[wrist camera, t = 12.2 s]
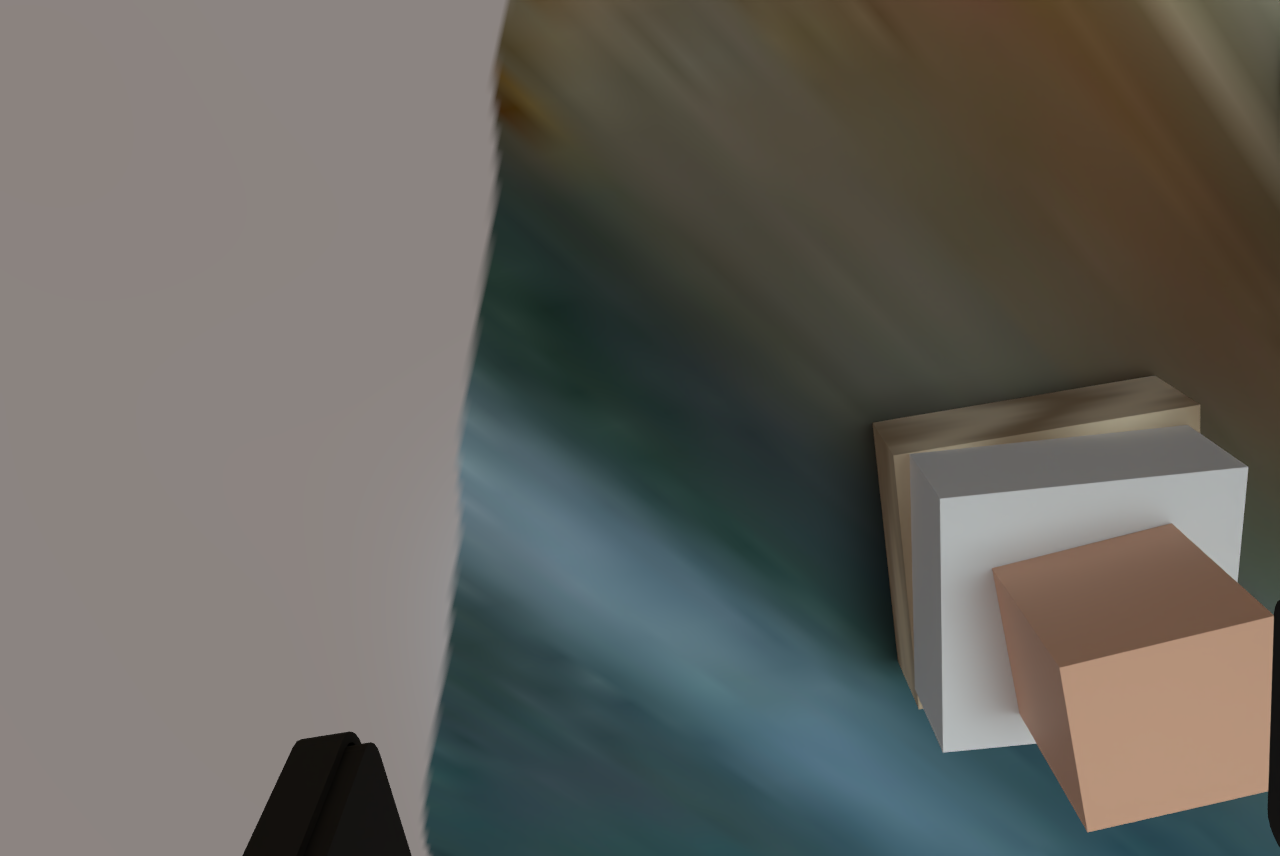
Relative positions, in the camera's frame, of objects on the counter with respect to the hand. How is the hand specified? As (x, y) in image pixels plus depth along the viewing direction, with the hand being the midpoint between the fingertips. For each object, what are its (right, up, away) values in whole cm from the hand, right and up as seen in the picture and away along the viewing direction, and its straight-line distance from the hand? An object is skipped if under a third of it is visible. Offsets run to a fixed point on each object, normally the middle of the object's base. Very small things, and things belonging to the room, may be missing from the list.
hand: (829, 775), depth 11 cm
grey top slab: (+13, -1, +29) cm, 32 cm away
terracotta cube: (+14, -3, +26) cm, 29 cm away
